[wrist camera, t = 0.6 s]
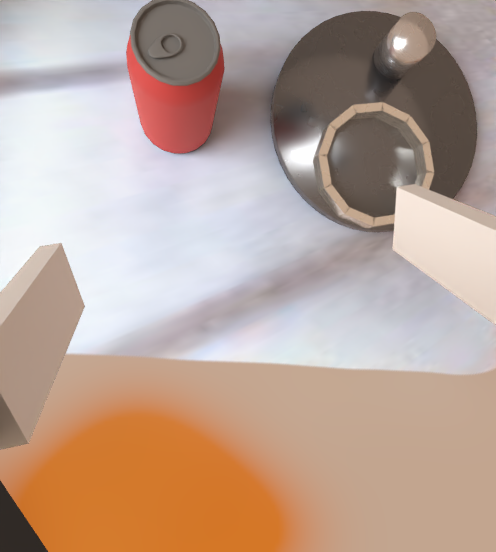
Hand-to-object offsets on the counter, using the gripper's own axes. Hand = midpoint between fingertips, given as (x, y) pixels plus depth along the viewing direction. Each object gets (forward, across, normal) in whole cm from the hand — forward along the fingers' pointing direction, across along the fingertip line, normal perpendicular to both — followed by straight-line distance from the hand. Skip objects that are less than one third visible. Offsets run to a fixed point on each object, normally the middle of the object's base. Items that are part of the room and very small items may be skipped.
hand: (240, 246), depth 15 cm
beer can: (+25, -2, +3) cm, 25 cm away
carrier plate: (+25, +18, 0) cm, 31 cm away
